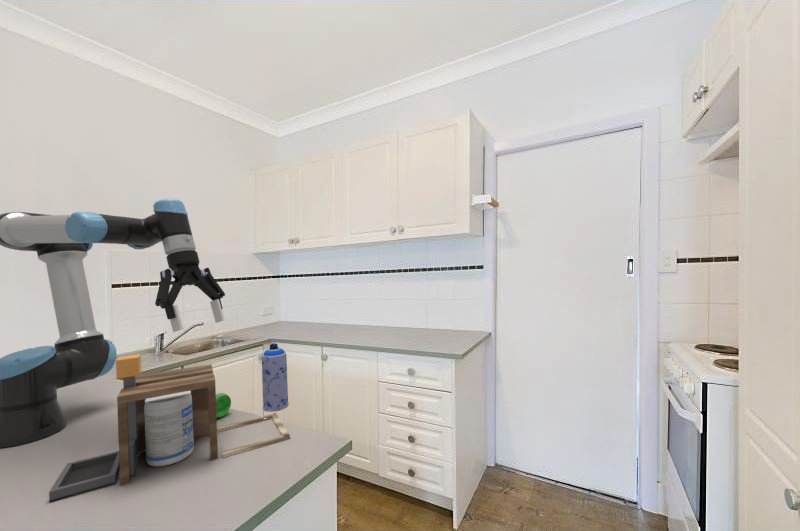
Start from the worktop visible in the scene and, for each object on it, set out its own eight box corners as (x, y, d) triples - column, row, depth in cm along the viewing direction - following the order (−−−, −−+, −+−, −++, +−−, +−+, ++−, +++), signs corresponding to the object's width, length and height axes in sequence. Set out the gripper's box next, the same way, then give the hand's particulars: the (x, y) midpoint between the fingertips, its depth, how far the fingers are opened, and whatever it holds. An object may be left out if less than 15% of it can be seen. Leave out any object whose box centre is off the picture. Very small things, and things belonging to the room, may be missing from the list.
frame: (217, 429, 96) (217, 426, 96) (275, 415, 104) (275, 412, 104) (222, 457, 81) (222, 454, 81) (290, 438, 89) (289, 435, 89)
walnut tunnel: (130, 452, 86) (128, 377, 85) (213, 431, 95) (211, 364, 95) (120, 486, 72) (117, 396, 72) (217, 458, 81) (215, 379, 81)
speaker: (233, 413, 107) (232, 389, 107) (212, 423, 100) (211, 397, 100) (194, 406, 114) (194, 383, 114) (172, 415, 107) (171, 390, 107)
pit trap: (67, 472, 78) (67, 463, 78) (124, 457, 83) (123, 449, 83) (49, 502, 67) (49, 492, 67) (115, 484, 73) (115, 474, 73)
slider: (125, 454, 83) (122, 352, 83) (146, 449, 85) (142, 350, 85) (117, 478, 74) (113, 363, 74) (140, 472, 76) (137, 360, 76)
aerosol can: (268, 402, 115) (266, 341, 115) (292, 401, 115) (290, 341, 115) (258, 412, 107) (256, 347, 107) (283, 411, 107) (281, 346, 107)
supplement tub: (194, 459, 81) (192, 396, 81) (144, 473, 76) (142, 406, 76) (192, 442, 89) (190, 385, 89) (147, 454, 84) (145, 393, 84)
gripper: (146, 247, 85) (167, 331, 83) (226, 250, 109) (243, 315, 107) (125, 257, 87) (146, 338, 85) (208, 257, 111) (225, 321, 109)
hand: (200, 325), depth 96 cm, fingers open, 13 cm apart
